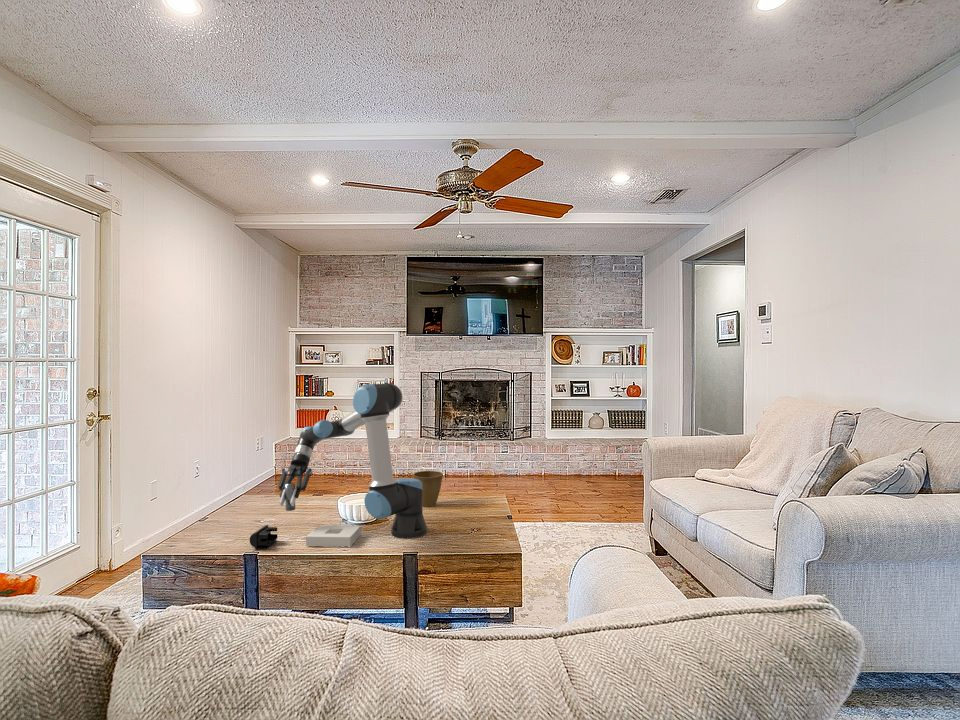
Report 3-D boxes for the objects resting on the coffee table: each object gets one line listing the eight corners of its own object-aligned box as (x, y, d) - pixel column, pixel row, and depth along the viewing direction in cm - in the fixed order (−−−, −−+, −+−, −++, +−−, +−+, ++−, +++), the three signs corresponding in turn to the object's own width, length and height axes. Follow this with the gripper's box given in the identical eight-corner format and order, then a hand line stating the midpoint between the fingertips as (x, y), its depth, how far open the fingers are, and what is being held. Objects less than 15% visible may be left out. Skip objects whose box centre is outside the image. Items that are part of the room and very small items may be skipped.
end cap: (261, 540, 221) (261, 524, 221) (278, 541, 220) (277, 524, 220) (249, 549, 211) (249, 532, 211) (266, 549, 210) (266, 532, 210)
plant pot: (410, 508, 264) (409, 476, 264) (418, 500, 279) (417, 470, 278) (439, 509, 261) (438, 477, 261) (446, 501, 276) (445, 470, 276)
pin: (297, 508, 229) (296, 482, 229) (293, 510, 225) (292, 484, 225) (288, 508, 229) (287, 482, 229) (283, 510, 225) (283, 484, 225)
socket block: (360, 535, 226) (360, 525, 226) (350, 547, 212) (350, 537, 212) (319, 534, 227) (319, 525, 227) (306, 546, 213) (306, 536, 213)
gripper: (322, 462, 242) (308, 509, 225) (286, 462, 243) (269, 509, 227) (317, 452, 236) (303, 499, 220) (280, 453, 238) (263, 499, 221)
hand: (286, 504), depth 223 cm, fingers closed on pin, 4 cm apart
